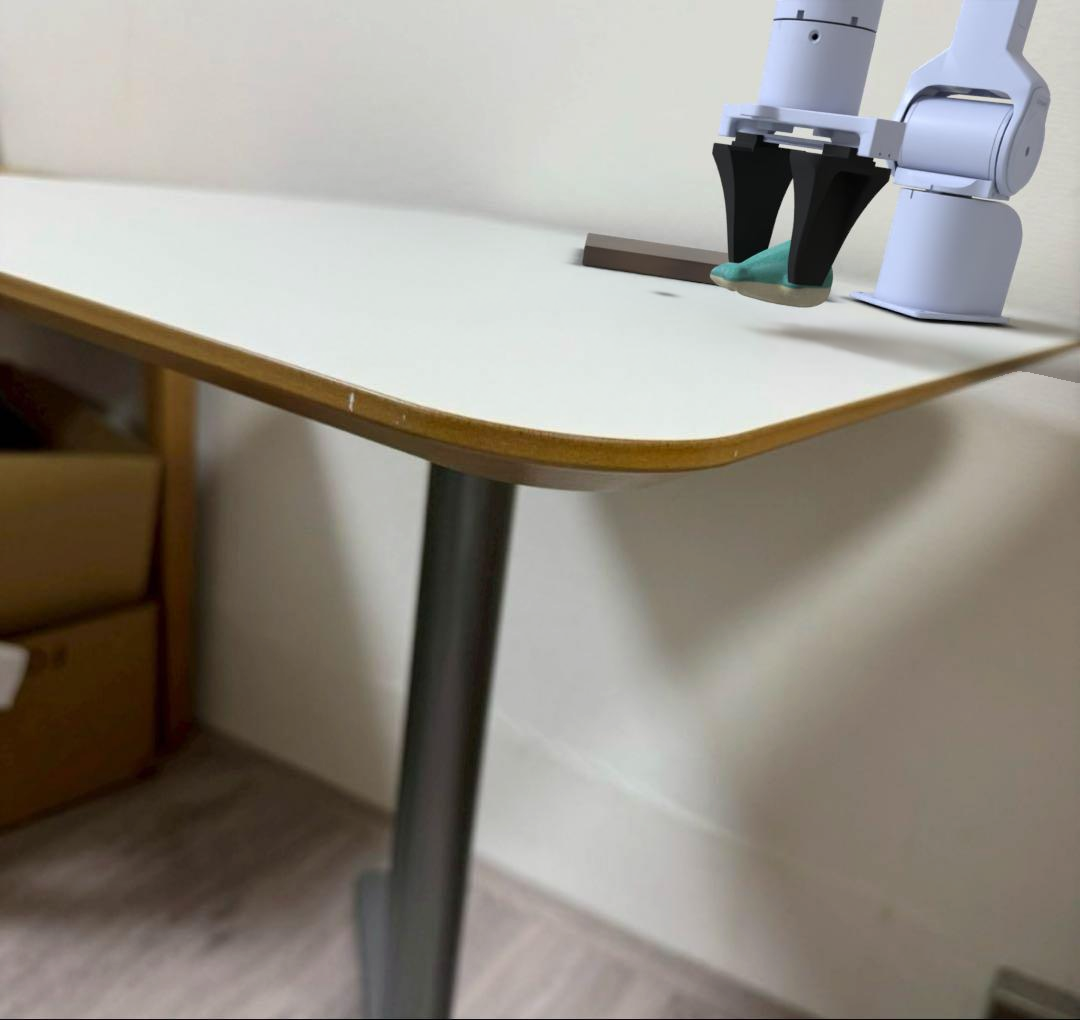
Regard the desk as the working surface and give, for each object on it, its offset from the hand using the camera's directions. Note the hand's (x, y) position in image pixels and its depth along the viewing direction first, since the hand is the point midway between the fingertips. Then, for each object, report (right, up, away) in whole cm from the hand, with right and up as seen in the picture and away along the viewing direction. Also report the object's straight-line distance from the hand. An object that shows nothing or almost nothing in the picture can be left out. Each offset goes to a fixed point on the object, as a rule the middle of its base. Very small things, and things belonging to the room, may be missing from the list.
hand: (773, 274), depth 64 cm
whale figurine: (0, -2, +1) cm, 2 cm away
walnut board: (-2, +5, +22) cm, 23 cm away
